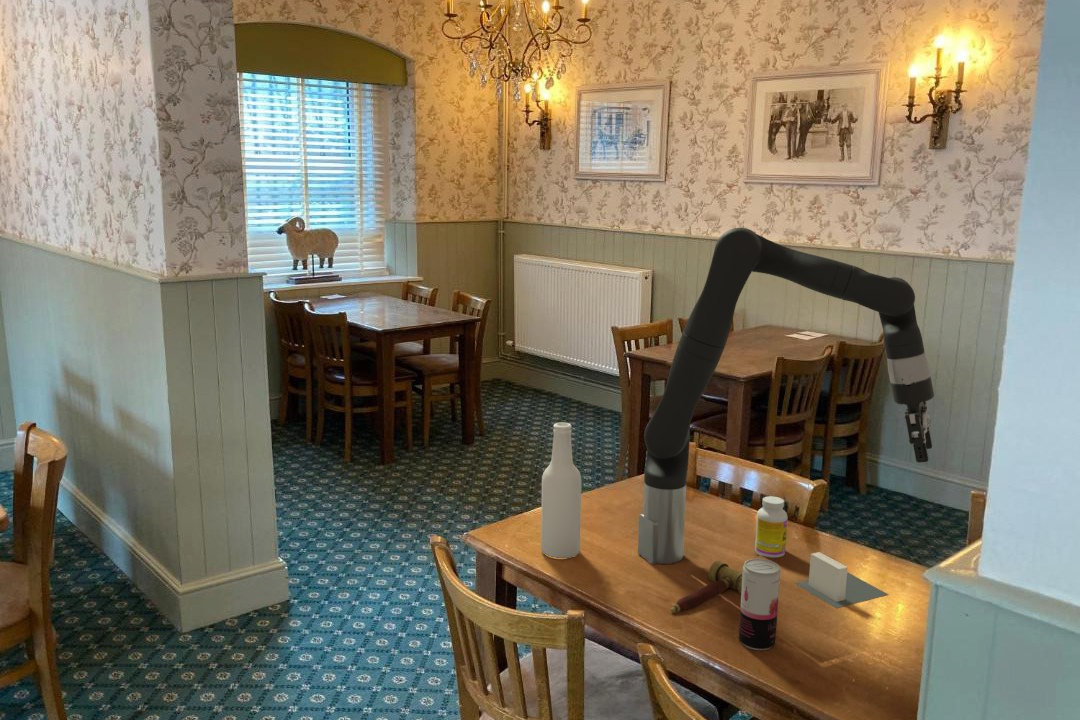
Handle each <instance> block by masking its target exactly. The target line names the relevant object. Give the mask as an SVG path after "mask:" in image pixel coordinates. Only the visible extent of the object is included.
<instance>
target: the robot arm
mask: <svg viewBox="0 0 1080 720" xmlns="http://www.w3.org/2000/svg"><path fill="white" fill-rule="evenodd" d="M752 273H760V274H765V275H770V276H775V277H777V278H781V279H783V280H784V279H785V280H787V281H789V282H793V283H794V284H797V285H799V286H802V287H804V288H806V289H810V290H811V291H814V292H816V293H820V294H823V295H826V296H829V297H833V298H835V299H839V300H843V301H847V302H851V303H855V304H858V305H860V306H863V307H864V308H867V309H869V310H872V311H875V312H877V313H878V315H879V316H878V317H879V319H880V323H881V328H882V332H883V336H882V337H883V343H884V345H883V346H884V349H885V355H886V360H887V372H888V378H889V382H890V383H889V384H890V388H891V392H892V398H893V402H894V403H895V404H898V405H905V406H906V407H907V408H906V410H905V412H904V419H905V422H906V423H905V424H906V427H907V429H906V430H907V433H908V438H909V439H908V442H909V444H910V445H912V446H913V451H914V456H915V460H916V463H927V462H929V455H928V450H929V449H932V447H933V443H932V442H933V441H932V437H931V431H930V429H931V425H930V424H931V417H930V415H929V407H928V404H927V402H928V401H931V400H932V399H933V398H934V396H935V393H934V387H933V382H932V381H933V380H932V376H931V372H930V367H929V366H930V365H929V361H928V359H927V356H926V352H925V347H924V342H923V336H922V333H921V329H920V326H919V325H918V321H917V314H916V313H917V312H916V307H915V303H916V302H915V301H916V296H915V295H916V294H915V291H914V289H913V287H912V286H911V285H910V284H909V282H908V281H906V280H905V279H903V278H902V277H896V276H895V277H893V276H892V277H886V276H883V275H879V274H876V273H871V272H868V271H867V270H865V269H864V268H861V267H859V266H856V265H852V264H849V263H846V262H841V261H838V260H836V259H831V258H828V257H824V256H819V255H815V254H810V253H807V252H803V251H800V250H796V249H793V248H789V247H786V246H784V245H781V244H779V243H776V242H774V241H772V240H770V239H768V238H765V237H763V236H762V235H759V234H758V233H756V232H754V231H753V230H752V229H749V228H746V227H734V228H732V229H729V230H727V231H725V232H723V234H721V235H720V237H719V238H718V239H717V241H716V243H715V246H714V250H713V255H712V258H711V263H710V267H709V270H708V274H707V277H706V280H705V283H704V286H703V289H702V291H701V293H700V295H699V297H698V299H697V301H696V303H695V305H694V307H693V309H692V311H691V312H690V315H689V317H688V319H687V322H686V324H685V326H684V328H683V330H682V333H681V336H680V338H679V340H678V344H677V347H676V350H675V353H674V356H673V359H672V362H671V366H670V369H669V374H668V377H667V382H666V385H665V388H664V392H663V394H662V396H661V398H660V400H659V403H658V405H657V407H656V409H655V411H654V412H653V415H652V416H651V418H650V419H649V421H648V422H647V424H646V427H645V429H644V432H643V433H644V434H643V437H644V445H645V447H646V459H645V460H646V461H645V467H644V475H643V476H644V478H643V481H644V482H643V501H642V504H643V505H642V506H643V507H642V508H643V509H642V513H639V515H638V534H637V535H638V537H637V540H638V541H637V542H638V543H637V554H638V555H639V556H640V555H641V558H643V559H644V560H646V561H647V562H649V563H650V564H652V565H654V564H655V565H656V564H662V565H663V564H664V565H668V564H675V563H678V562H681V561H682V560H683V558H684V540H685V520H686V519H685V517H686V495H687V480H688V479H687V477H688V470H689V459H690V458H689V457H690V443H691V442H690V440H691V437H690V436H691V433H690V432H691V429H690V426H691V423H692V419H693V417H694V414H695V410H696V408H697V405H698V403H699V401H700V399H701V397H702V395H703V393H704V392H705V391H706V388H707V386H708V384H709V383H710V381H711V379H712V377H713V375H714V373H715V370H716V369H717V367H718V365H719V362H720V359H721V358H722V355H723V353H724V350H725V348H726V345H727V341H728V339H729V336H730V332H731V330H732V329H731V328H732V326H733V325H732V324H733V321H734V320H733V319H734V315H735V311H736V306H737V303H738V300H739V298H740V295H741V293H742V291H743V289H744V287H745V285H746V284H747V282H748V279H749V278H750V275H751V274H752ZM915 435H917V436H916V437H915Z"/></svg>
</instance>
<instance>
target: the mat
mask: <svg viewBox="0 0 1080 720" xmlns="http://www.w3.org/2000/svg"><path fill="white" fill-rule="evenodd" d="M794 584H795V585H797V586H798V587H800V588H802V590H805V591H806V592H809V593H810V594H811V595H814V596H815V597H816V598H818V599H820V600H822V601H823V602H825V603H826V604H829V605H830V606H832V607H834V608H835V609H839V608H840V609H841V608H844V607H846V606H851V605H855V604H858V603H862V602H866V601H871V600H874V599H878V598H881V597H885V596H889V595H890V594H889V593H887V592H885V591H883V590H881V589H880V588H877V586H874V585H872V584H871V583H868V582H866V581H865V580H863V579H861V578H859V577H858V576H855V575H853V574H851V573H850V572H848V571H847V580H846V591H845V600H842V601H838V602H836V601H834V600H832V599H831V598H829V597H827V596H826V595H824V594H822V593H820V592H819V591H817V590H815V589H814V588H812V587H810V586H809V585H808V584H809V579H807V580H802V581H799V582H798V581H797V582H795V583H794Z"/></svg>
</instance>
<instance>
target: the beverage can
mask: <svg viewBox="0 0 1080 720" xmlns="http://www.w3.org/2000/svg"><path fill="white" fill-rule="evenodd" d="M780 568H781V567H780V565H779V564H778V563H777V562H774V561H773V560H770V559H766V558H750V559H748V560H745V561H744V563H743V566H742V573H743V575H742V591H741V593H740V594H741V595H740V596H741V597H740V610H739V623H738V625H739V626H738V640H739V642H740V643H741V644H742V645H743V646H744V647H746V648H747V649H751V650H755V651H767V650H770V649H771V648H772V647H774V646H775V645H776V641H777V640H776V637H777V625H778V623H777V622H778V612H779V599H780V598H779V594H780V584H781V583H780V582H781V570H780Z"/></svg>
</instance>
